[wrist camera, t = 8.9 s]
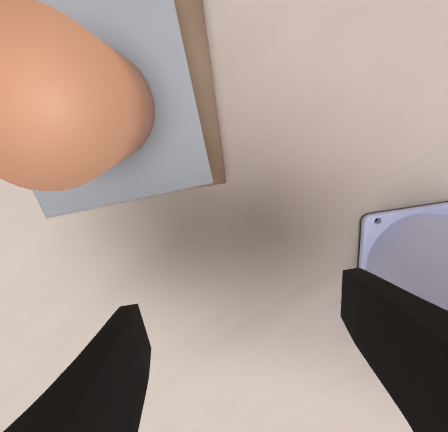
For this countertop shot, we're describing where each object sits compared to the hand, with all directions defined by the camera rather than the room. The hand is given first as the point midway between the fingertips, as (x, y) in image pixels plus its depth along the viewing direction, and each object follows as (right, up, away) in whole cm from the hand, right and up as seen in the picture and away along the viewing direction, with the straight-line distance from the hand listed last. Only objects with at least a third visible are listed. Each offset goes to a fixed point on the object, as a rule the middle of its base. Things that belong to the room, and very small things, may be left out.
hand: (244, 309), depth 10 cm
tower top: (-6, +9, +5) cm, 12 cm away
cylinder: (-6, +8, +2) cm, 10 cm away
